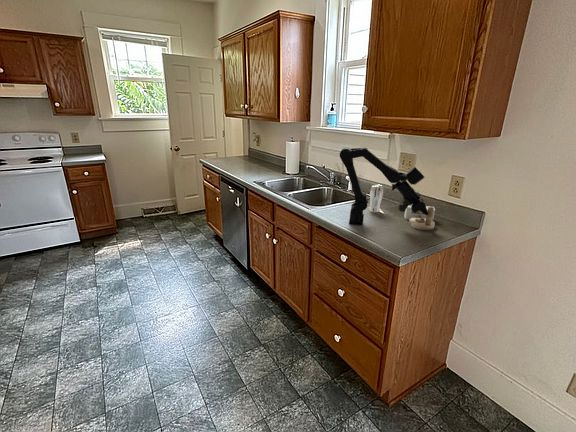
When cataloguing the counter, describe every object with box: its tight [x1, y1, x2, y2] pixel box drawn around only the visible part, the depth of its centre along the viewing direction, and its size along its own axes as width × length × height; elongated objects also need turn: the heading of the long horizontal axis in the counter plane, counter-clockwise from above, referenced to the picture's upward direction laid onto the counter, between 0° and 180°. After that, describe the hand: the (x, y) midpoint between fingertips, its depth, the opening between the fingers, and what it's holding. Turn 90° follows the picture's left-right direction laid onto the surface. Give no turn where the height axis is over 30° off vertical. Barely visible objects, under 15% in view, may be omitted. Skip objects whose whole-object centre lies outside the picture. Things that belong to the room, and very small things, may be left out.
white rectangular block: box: [403, 205, 436, 221], centre depth 168 cm, size 14×6×7 cm, turn 77°
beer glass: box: [368, 183, 385, 214], centre depth 178 cm, size 7×7×15 cm
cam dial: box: [408, 206, 436, 231], centre depth 158 cm, size 12×12×12 cm
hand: (427, 214), depth 152 cm, fingers closed
